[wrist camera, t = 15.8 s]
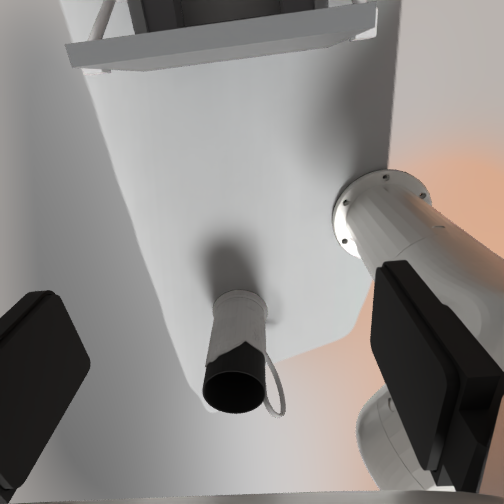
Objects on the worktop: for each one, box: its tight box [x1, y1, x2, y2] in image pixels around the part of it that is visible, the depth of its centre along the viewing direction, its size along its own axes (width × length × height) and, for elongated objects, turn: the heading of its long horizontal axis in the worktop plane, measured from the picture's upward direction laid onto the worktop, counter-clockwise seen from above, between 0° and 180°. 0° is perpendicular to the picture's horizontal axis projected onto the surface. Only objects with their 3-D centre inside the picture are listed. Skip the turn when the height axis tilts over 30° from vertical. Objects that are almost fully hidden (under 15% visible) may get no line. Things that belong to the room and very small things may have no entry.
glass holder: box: [203, 290, 286, 418], centre depth 46 cm, size 9×14×15 cm, turn 41°
